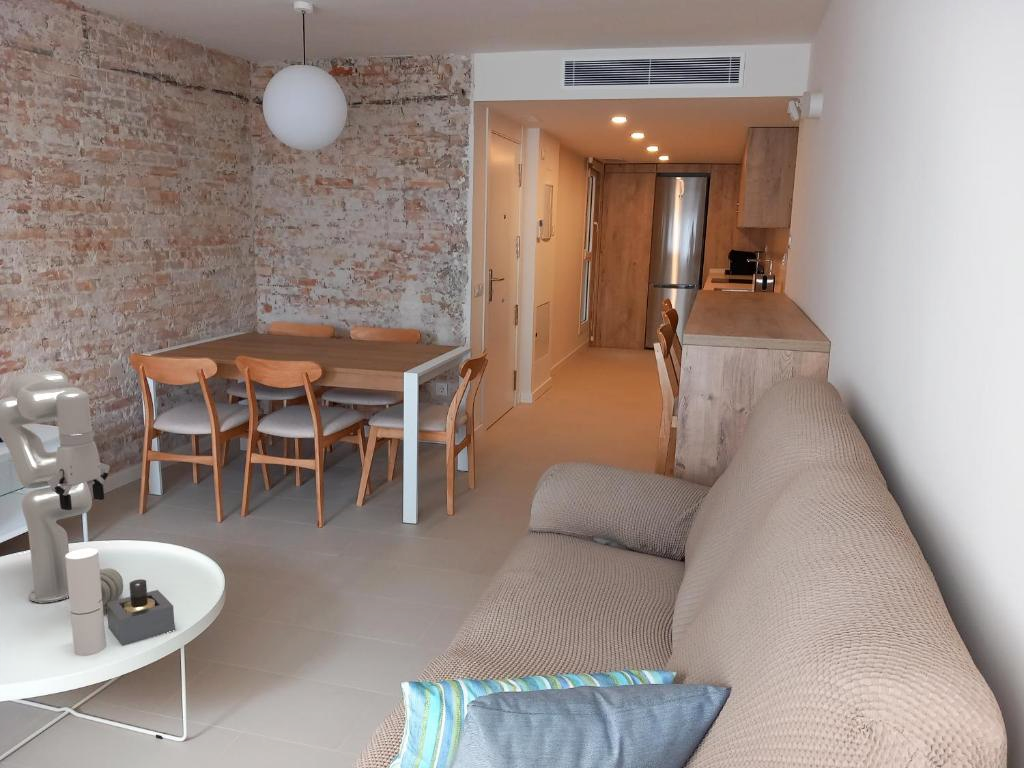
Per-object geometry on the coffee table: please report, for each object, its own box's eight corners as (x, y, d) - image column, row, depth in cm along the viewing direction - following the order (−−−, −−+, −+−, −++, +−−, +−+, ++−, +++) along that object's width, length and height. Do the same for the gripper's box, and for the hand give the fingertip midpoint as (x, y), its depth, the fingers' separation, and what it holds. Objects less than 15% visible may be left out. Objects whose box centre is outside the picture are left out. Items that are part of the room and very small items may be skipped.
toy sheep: (70, 622, 220) (67, 583, 219) (97, 595, 237) (94, 559, 235) (111, 620, 221) (108, 581, 219) (135, 594, 238) (132, 558, 236)
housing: (108, 627, 217) (106, 602, 216) (159, 613, 225) (157, 589, 224) (122, 645, 207) (119, 619, 206) (174, 630, 215) (173, 605, 214)
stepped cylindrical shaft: (122, 624, 217) (118, 581, 215) (151, 616, 221) (148, 574, 219) (130, 634, 211) (126, 590, 209) (160, 626, 216) (157, 583, 214)
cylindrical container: (111, 641, 210) (103, 548, 205) (98, 655, 202) (89, 558, 198) (82, 642, 209) (74, 548, 205) (68, 655, 202) (59, 559, 198)
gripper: (94, 432, 219) (100, 494, 222) (35, 445, 204) (42, 512, 206) (115, 433, 216) (121, 496, 219) (56, 447, 201) (63, 515, 203)
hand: (83, 504), depth 212 cm, fingers open, 9 cm apart
